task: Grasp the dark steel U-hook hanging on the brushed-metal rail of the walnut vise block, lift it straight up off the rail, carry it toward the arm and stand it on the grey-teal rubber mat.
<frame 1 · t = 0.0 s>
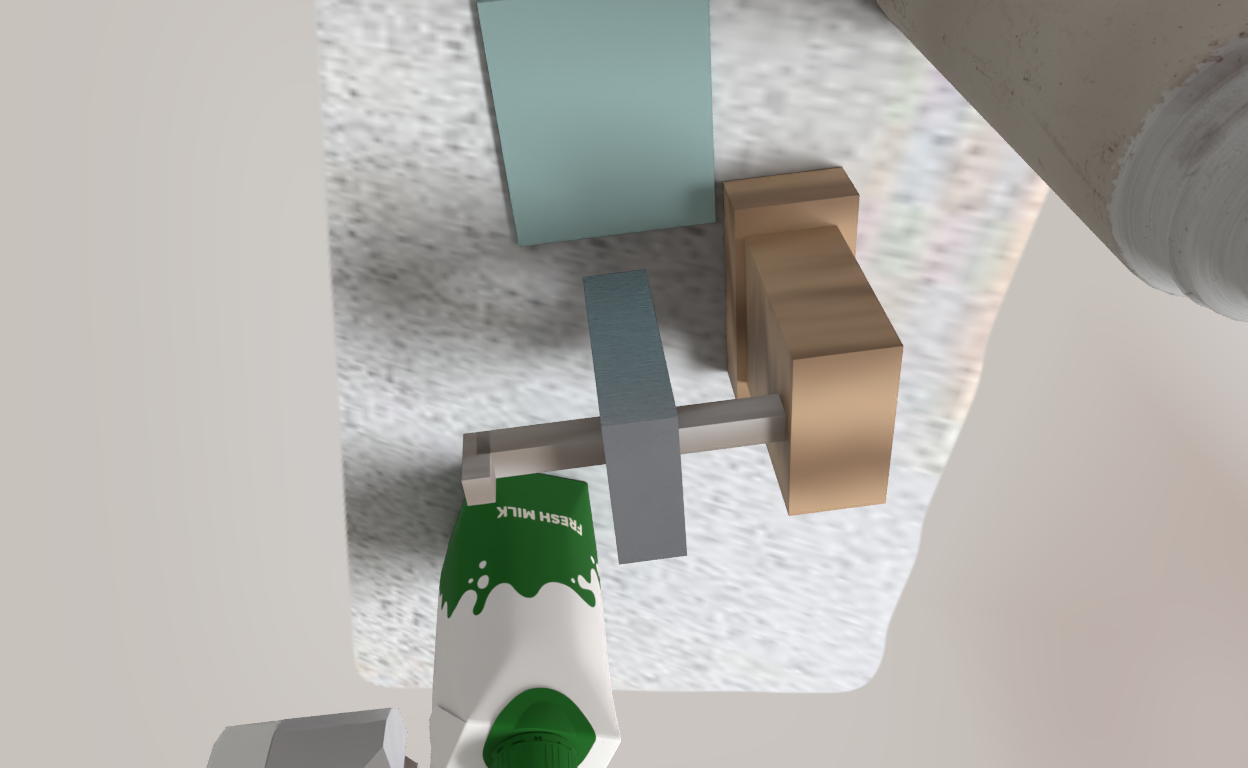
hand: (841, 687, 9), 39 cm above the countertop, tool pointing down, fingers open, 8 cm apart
mat: (605, 118, 46), on the countertop
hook: (621, 341, 49), point 4 cm above the countertop, touching vise
vise: (771, 277, 53), on the countertop
milk carton: (516, 510, 62), on the countertop
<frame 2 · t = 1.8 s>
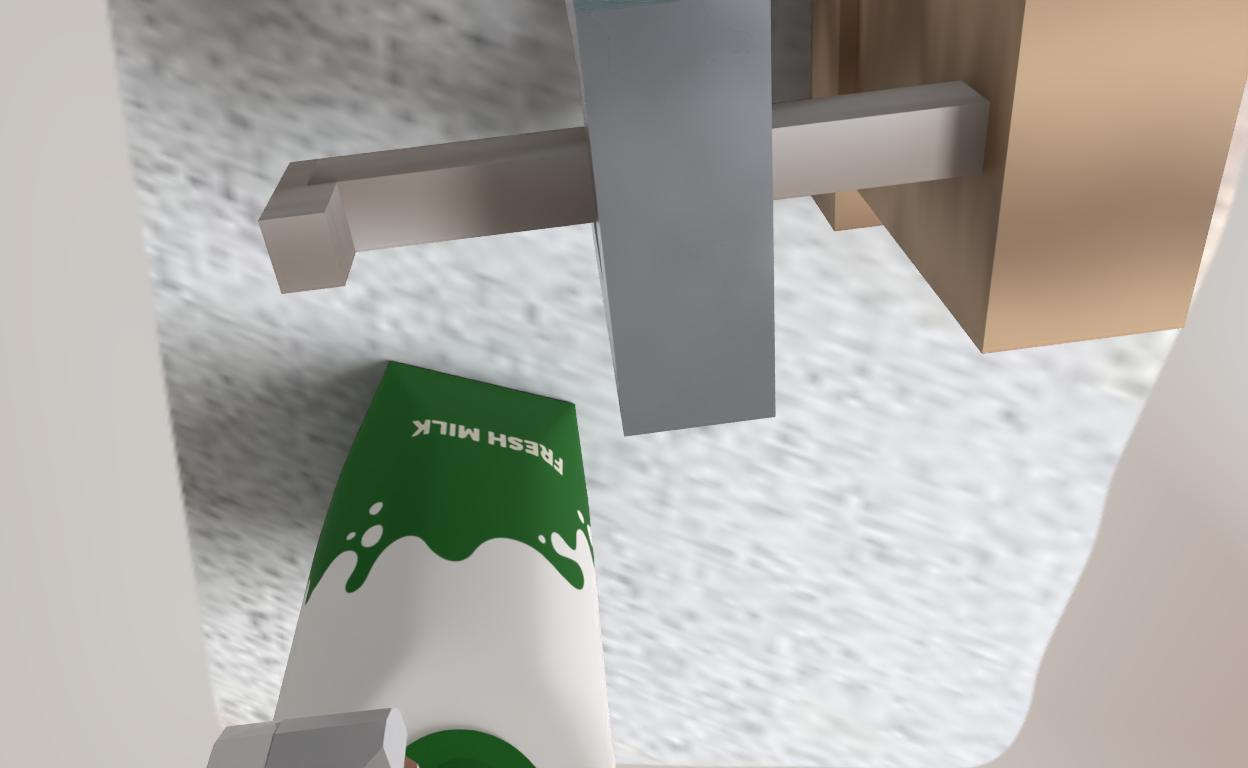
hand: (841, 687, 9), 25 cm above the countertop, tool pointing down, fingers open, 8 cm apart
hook: (628, 68, 26), point 4 cm above the countertop, touching vise
milk carton: (460, 454, 38), on the countertop
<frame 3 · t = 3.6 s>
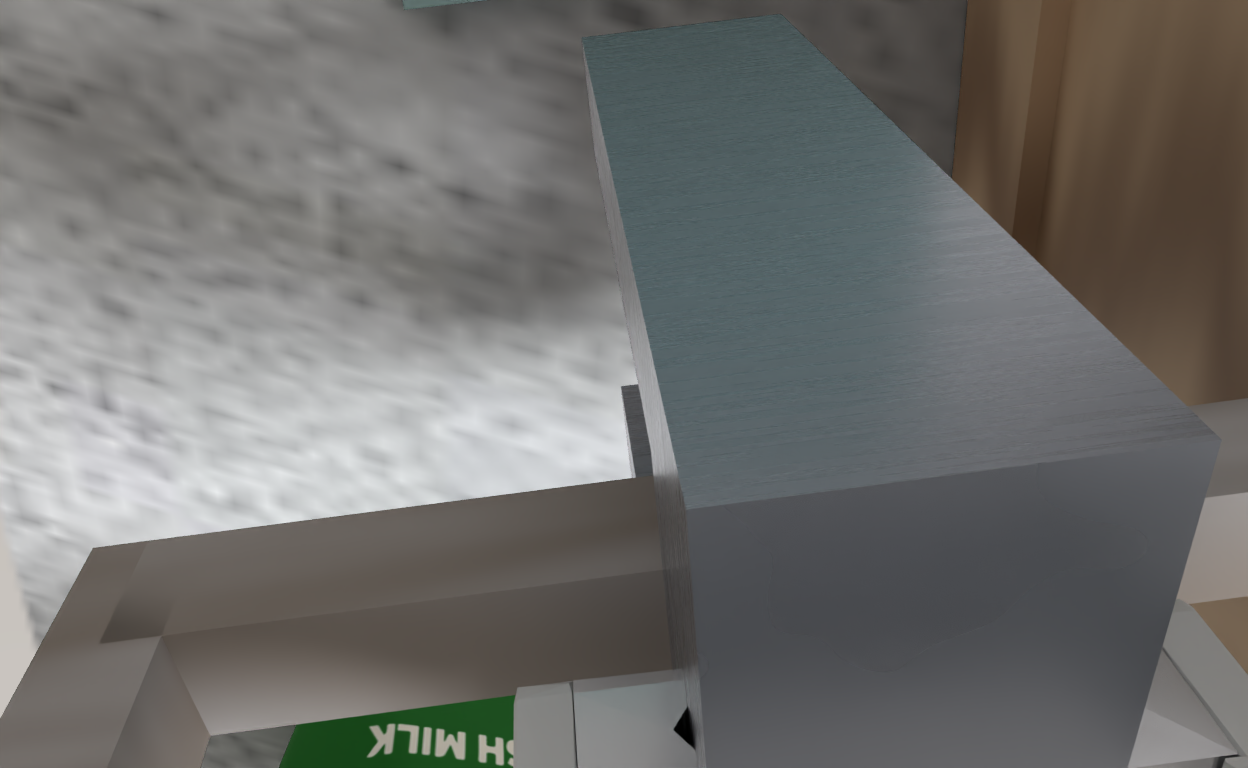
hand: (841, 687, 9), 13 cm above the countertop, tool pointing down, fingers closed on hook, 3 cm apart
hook: (695, 267, 17), point 4 cm above the countertop, touching gripper, vise
vise: (1073, 133, 20), on the countertop
milk carton: (443, 708, 28), on the countertop
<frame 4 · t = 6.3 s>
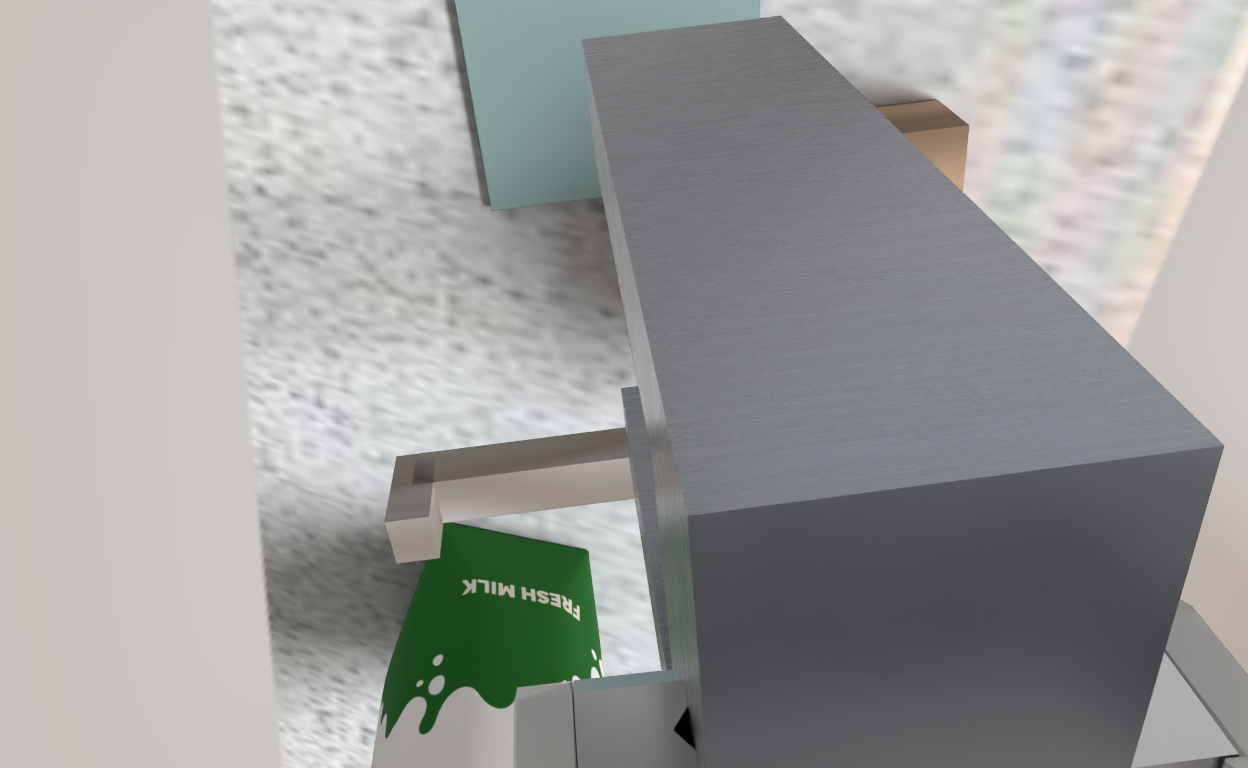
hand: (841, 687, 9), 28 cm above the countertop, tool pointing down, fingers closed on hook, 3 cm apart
mat: (610, 21, 33), on the countertop
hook: (695, 269, 17), point 19 cm above the countertop, touching gripper
vise: (837, 261, 39), on the countertop
milk carton: (494, 588, 47), on the countertop
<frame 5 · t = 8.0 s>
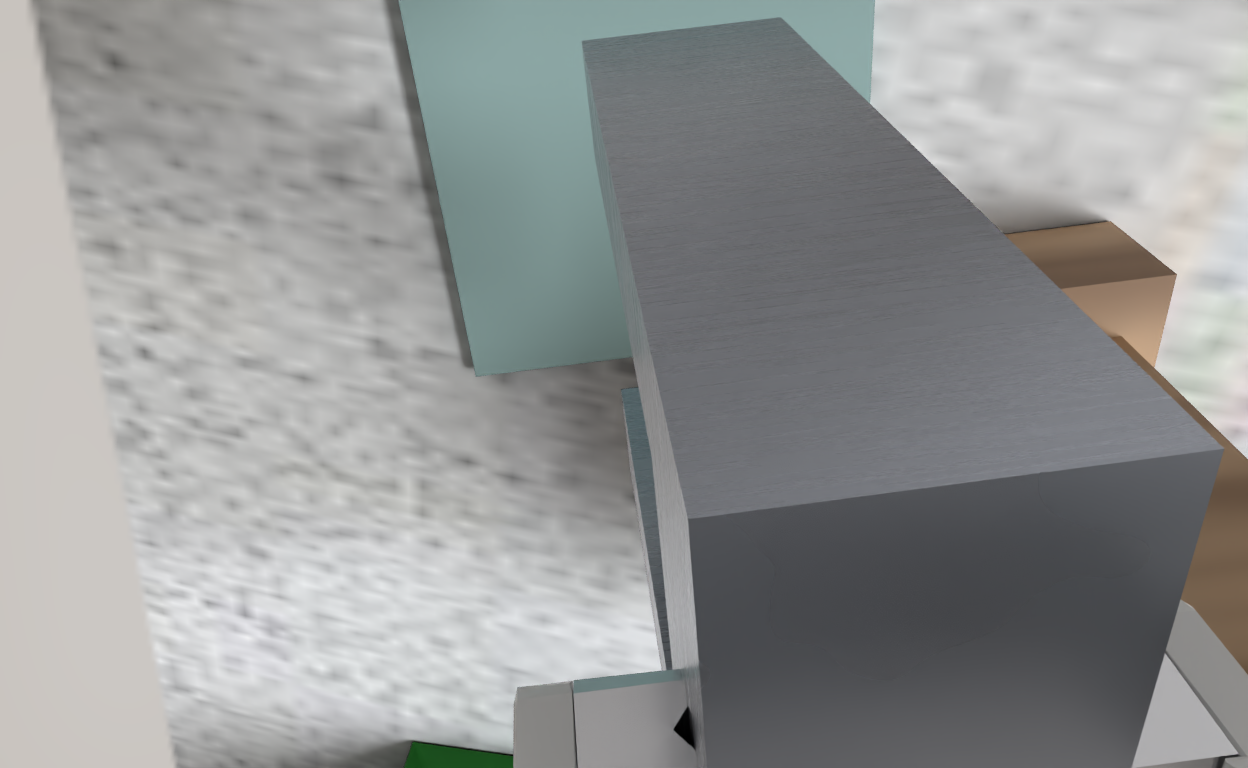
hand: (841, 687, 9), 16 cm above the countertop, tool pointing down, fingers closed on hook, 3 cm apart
mat: (649, 120, 23), on the countertop
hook: (695, 270, 17), point 7 cm above the countertop, touching gripper
vise: (953, 429, 28), on the countertop
when the fingers open (10 cm above the countertop, at t = 9.3 s): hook stays where it is, resting on mat.
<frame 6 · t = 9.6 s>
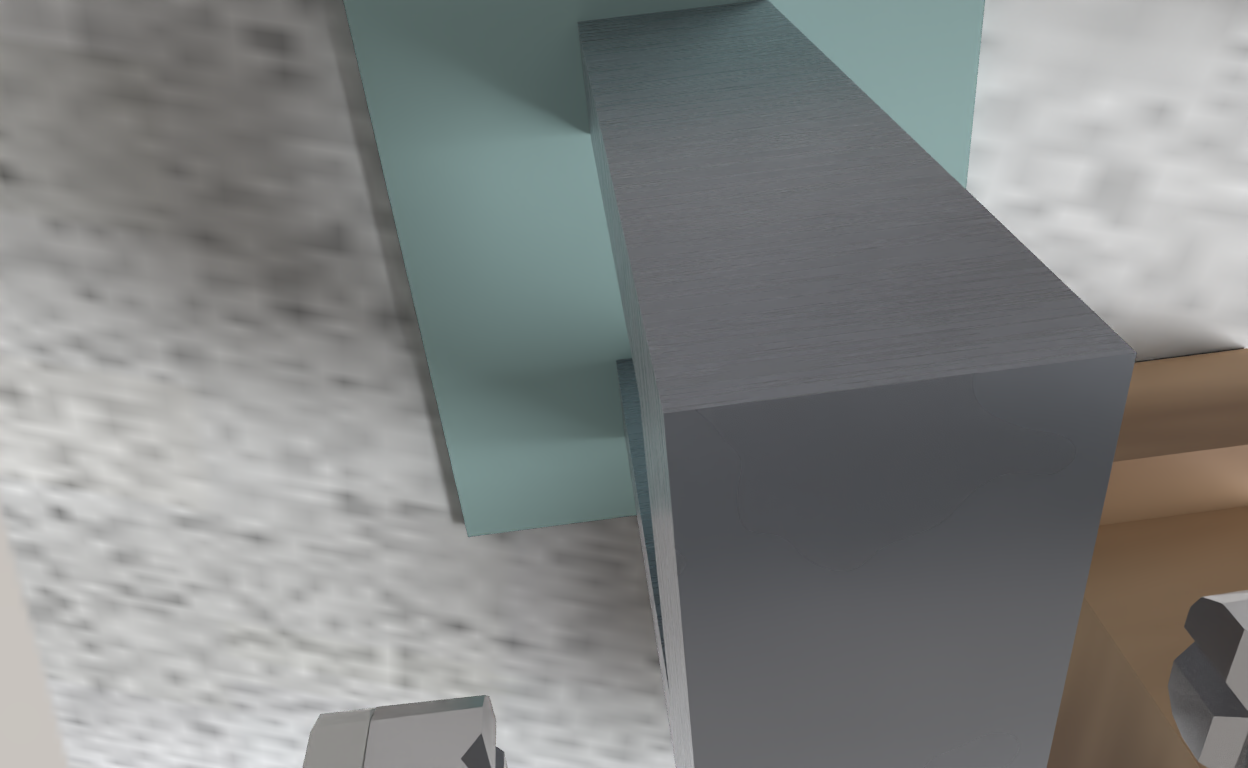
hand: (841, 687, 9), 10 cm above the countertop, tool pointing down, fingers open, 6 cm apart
mat: (684, 237, 18), on the countertop
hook: (687, 244, 18), resting on mat
vise: (1041, 582, 24), on the countertop
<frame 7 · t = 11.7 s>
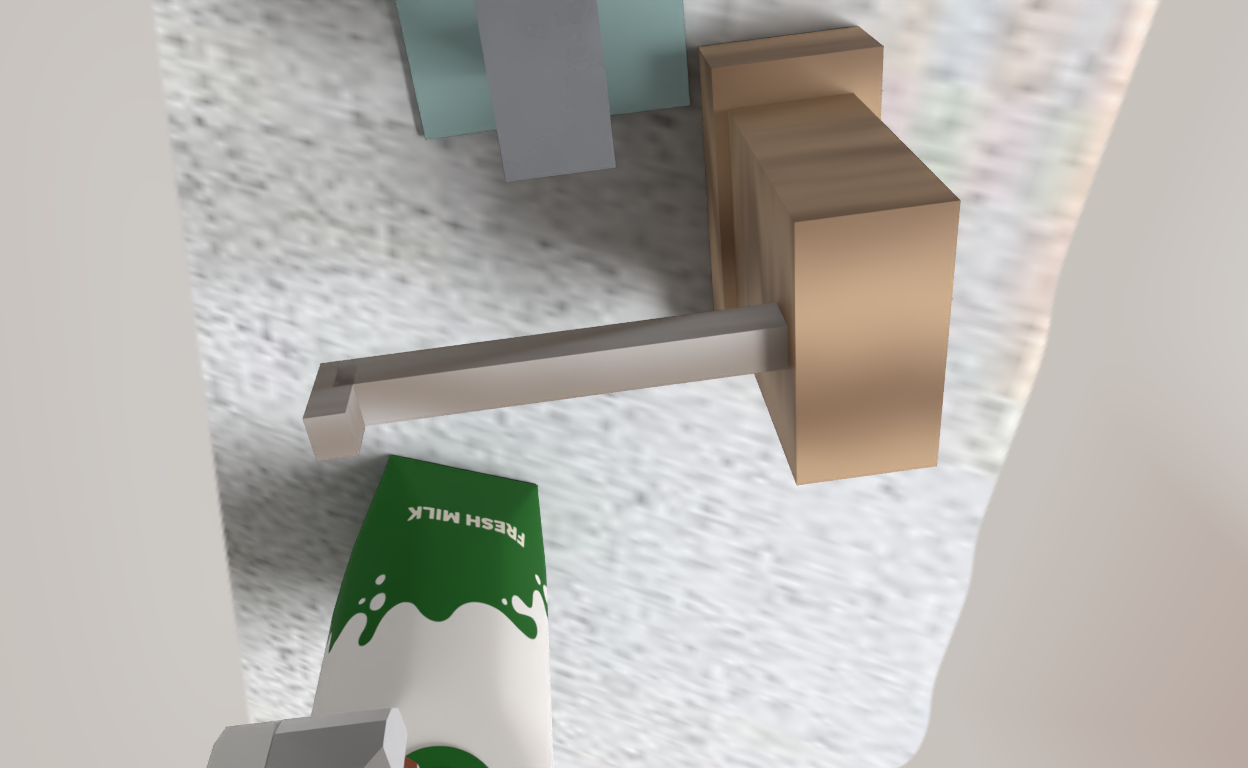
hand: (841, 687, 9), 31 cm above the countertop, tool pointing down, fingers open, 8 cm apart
vise: (768, 190, 40), on the countertop
milk carton: (447, 524, 48), on the countertop
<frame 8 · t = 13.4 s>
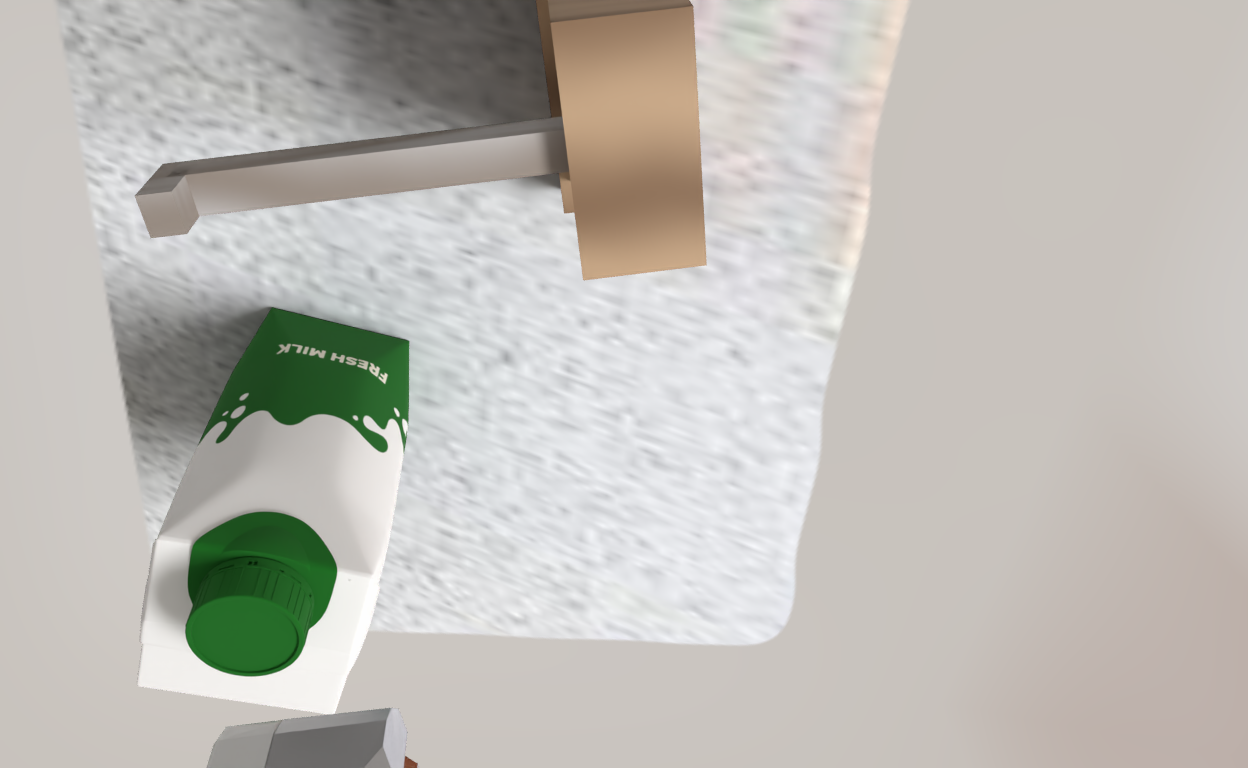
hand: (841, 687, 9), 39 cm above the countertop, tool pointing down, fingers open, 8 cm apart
vise: (600, 56, 44), on the countertop
milk carton: (329, 379, 52), on the countertop
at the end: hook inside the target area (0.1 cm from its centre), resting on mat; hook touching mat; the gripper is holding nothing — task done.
